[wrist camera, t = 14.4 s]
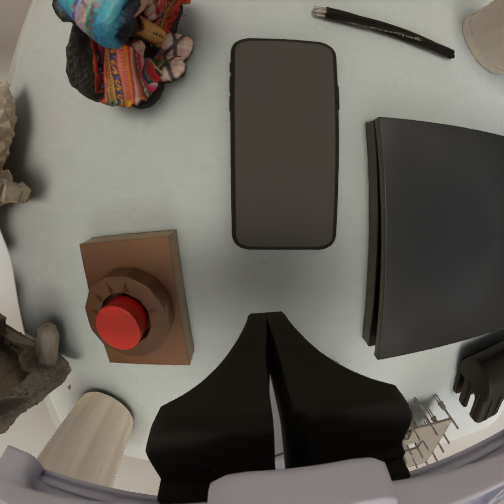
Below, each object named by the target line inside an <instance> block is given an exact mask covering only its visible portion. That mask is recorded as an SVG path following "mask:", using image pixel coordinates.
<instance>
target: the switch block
mask: <svg viewBox="0 0 504 504" xmlns="http://www.w3.org/2000/svg"><path fill="white" fill-rule="evenodd" d="M80 249H81V255H82V260H83V265H84V270H85V274H86V279H87V283H88V288H89V294H88V298H87V302H86V307H85V308H86V312H87V316H88V320H89V323H90V326H91V328H92V330H93V332H94V333H95V334H96V335H97V336H98V338H99V339H100V340H101V341H102V342H103V344H104V346H105V349H106V352H107V355H108V358H109V361H110V362H114V363H131V364H157V365H190V363H191V359H192V356H193V352H194V345H193V340H192V334H191V329H190V323H189V317H188V311H187V305H186V299H185V292H184V286H183V279H182V272H181V265H180V257H179V249H178V241H177V233H176V230H168V231H156V232H145V233H135V234H124V235H114V236H104V237H94V238H91V239H89V240H87V241H85V242H83V243H81V244H80ZM116 296H128V297H131V298H133V299H135V300H136V301H137V302H139V303H140V304H141V305H142V307H143V308H144V310H145V312H146V314H147V318H148V325H147V328H146V330H145V332H144V334H143V335H142V337H141V339H140V340H139V342H138V343H137V345H136V346H134V347H133V348H131V349H126V350H122V349H117V348H114V347H112V346H110V345H109V344H108V343H106V342H105V341H104V340H103V339H102V337H101V336H100V334H99V332H98V330H97V327H96V317H97V314H98V312H99V311H100V310H101V309H102V308H103V307H104V306H105V305H106V304H107V303H108V302H109V301H110V300H111V299H112V298H114V297H116Z"/></svg>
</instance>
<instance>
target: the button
mask: <svg viewBox="0 0 504 504" xmlns="http://www.w3.org/2000/svg"><path fill="white" fill-rule="evenodd" d="M147 325H148V318H147V314H146V312H145V310H144V308H143V307H142V305H141V304H140V303H139V302H137V301H136V300H135V299H133V298H131V297H128V296H116V297H114V298H112V299H111V300H110V301H109V302H108V303H107V304H106V305H105V306H104V307H103V308H102V309H101V310H100V311H99V312H98V314H97V317H96V327H97V330H98V332H99V334H100V336H101V337H102V339H103V340H104V341H105V342H106V343H108V344H109V345H110V346H112V347H114V348H117V349H122V350H126V349H131V348H133V347H134V346H136V345H137V343H138V342H139V340H140V339H141V337H142V335H143V334H144V332H145V330H146V328H147Z"/></svg>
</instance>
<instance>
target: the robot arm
mask: <svg viewBox="0 0 504 504" xmlns="http://www.w3.org/2000/svg"><path fill="white" fill-rule="evenodd" d="M411 420H412V411H411V409H410V407H409V405H408V403H407V402H406V400H405V398H404V397H403V395H402V394H401V393H400V391H399V390H398V389H397V387H396V386H395V385H392V384H388V383H384V382H381V381H377V380H374V379H371V378H368V377H365V376H363V375H360V374H358V373H356V372H353V371H351V370H349V369H347V368H345V367H343V366H342V365H340V364H338V363H337V362H334V361H333V360H331V359H330V358H328V357H327V356H325V355H324V354H322V353H321V352H320V351H318V350H317V349H316V348H315V347H314V346H313V345H312V344H310V343H309V342H308V341H307V340H306V339H305V338H304V337H303V336H302V335H301V334H300V333H299V332H298V331H297V329H296V328H295V327H294V326H293V325H292V324H291V322H290V321H289V320H288V319H287V317H286V316H285V314H284V313H283V312H282V311H280V312H267V313H253V314H250V315H249V316H248V318H247V321H246V324H245V326H244V328H243V331H242V332H241V334H240V336H239V338H238V340H237V341H236V343H235V345H234V346H233V347H232V349H231V350H230V352H229V353H228V355H227V356H226V357H225V359H224V360H223V361H222V362H221V363H220V364H219V366H218V367H217V368H216V369H215V370H214V371H213V372H212V373H211V374H210V375H209V376H208V377H207V378H206V379H204V380H203V381H202V382H201V383H200V384H198V385H197V386H196V387H194V388H193V389H191V390H190V391H188V392H187V393H185V394H184V395H182V396H180V397H178V398H177V399H175V400H173V401H171V402H169V403H167V404H165V405H163V406H161V408H160V410H159V412H158V414H157V416H156V418H155V420H154V422H153V424H152V427H151V430H150V434H149V437H148V441H147V445H146V453H147V456H148V458H149V460H150V462H151V463H152V465H153V467H154V468H155V470H156V472H157V473H158V475H159V476H160V478H161V482H160V487H159V492H158V496H154V495H148V494H141V493H134V492H129V491H124V490H119V489H114V488H110V487H105V486H101V485H97V484H93V483H89V482H85V481H82V480H78V479H75V478H71V477H68V476H65V475H62V474H59V473H56V472H53V471H50V470H47V469H44V468H43V466H42V465H41V463H40V462H39V461H38V460H37V459H36V458H35V457H34V456H32V455H31V454H29V453H27V452H24V451H22V450H19V449H17V448H14V447H12V446H7V448H6V450H5V452H4V453H3V455H2V457H1V459H0V504H498V503H500V502H501V501H502V500H504V430H502V431H500V432H498V433H497V434H495V435H493V436H491V437H489V438H487V439H485V440H483V441H481V442H479V443H478V444H475V445H474V446H471V447H469V448H467V449H465V450H463V451H461V452H459V453H456V454H454V455H452V456H450V457H447V458H445V459H442V460H440V461H437V462H435V463H432V464H429V465H427V466H424V467H422V468H419V469H416V470H413V471H410V472H409V470H408V468H407V466H406V463H405V461H404V459H403V457H404V455H405V450H404V448H403V445H402V442H403V440H404V437H405V435H406V433H407V431H408V429H409V426H410V424H411Z"/></svg>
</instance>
